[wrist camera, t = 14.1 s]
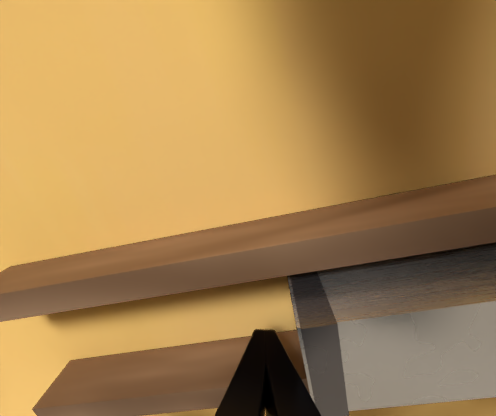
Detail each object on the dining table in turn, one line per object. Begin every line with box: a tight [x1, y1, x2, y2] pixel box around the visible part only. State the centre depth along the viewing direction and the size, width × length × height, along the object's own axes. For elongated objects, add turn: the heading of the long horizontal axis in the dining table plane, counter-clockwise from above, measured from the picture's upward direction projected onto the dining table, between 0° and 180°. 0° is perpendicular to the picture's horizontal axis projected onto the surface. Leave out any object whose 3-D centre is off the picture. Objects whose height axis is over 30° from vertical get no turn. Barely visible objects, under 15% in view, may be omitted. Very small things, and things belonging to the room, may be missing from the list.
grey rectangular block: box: [287, 242, 496, 416], centre depth 9 cm, size 4×9×4 cm, turn 102°
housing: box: [0, 175, 496, 416], centre depth 8 cm, size 7×30×6 cm, turn 102°
